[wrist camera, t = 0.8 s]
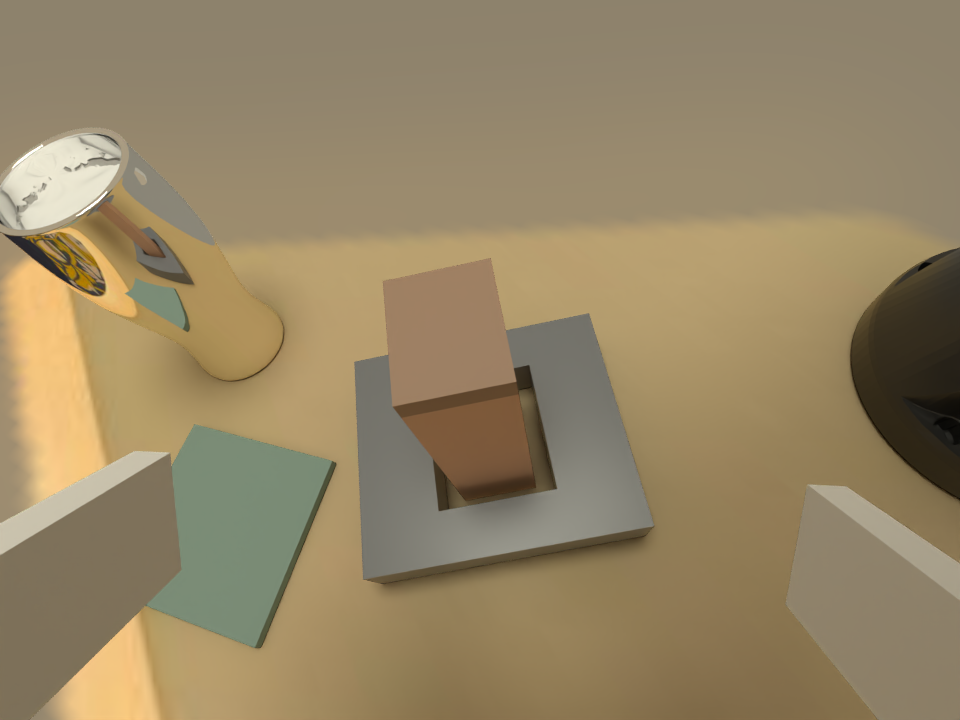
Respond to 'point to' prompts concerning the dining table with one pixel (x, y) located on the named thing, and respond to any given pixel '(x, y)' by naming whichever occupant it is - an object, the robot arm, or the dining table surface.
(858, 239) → the dining table surface
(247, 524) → the mat
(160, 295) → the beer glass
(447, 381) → the brown tall block
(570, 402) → the socket block
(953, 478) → the robot arm
